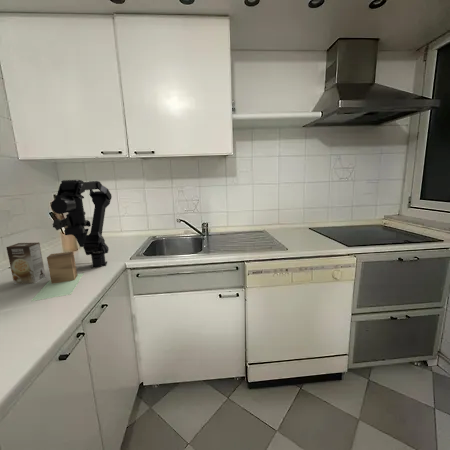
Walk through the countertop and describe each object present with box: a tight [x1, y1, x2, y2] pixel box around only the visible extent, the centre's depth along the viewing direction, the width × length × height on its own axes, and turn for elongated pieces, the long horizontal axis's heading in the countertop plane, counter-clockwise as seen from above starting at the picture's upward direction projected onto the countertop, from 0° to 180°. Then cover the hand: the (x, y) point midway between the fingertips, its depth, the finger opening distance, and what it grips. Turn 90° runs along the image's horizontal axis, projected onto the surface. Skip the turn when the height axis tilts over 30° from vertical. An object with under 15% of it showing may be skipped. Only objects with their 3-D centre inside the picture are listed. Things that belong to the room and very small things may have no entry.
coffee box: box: [5, 242, 46, 285], centre depth 98 cm, size 9×6×16 cm
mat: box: [30, 272, 85, 302], centre depth 93 cm, size 22×12×1 cm, turn 20°
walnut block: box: [46, 250, 78, 284], centre depth 97 cm, size 5×8×11 cm, turn 110°
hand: (81, 246), depth 101 cm, fingers closed
